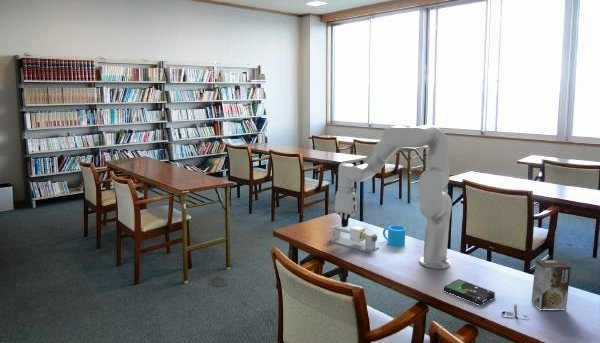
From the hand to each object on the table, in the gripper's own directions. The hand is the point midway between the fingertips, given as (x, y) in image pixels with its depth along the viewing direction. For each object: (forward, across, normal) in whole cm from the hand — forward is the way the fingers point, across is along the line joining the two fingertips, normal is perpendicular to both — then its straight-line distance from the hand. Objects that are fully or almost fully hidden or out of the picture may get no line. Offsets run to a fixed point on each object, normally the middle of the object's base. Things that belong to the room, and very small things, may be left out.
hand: (344, 226), depth 219 cm
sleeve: (+5, -7, 0) cm, 9 cm away
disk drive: (+9, -66, +15) cm, 69 cm away
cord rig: (+8, -5, 0) cm, 10 cm away
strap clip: (+8, -84, +21) cm, 87 cm away
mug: (+8, -18, -15) cm, 25 cm away
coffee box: (+8, -91, +6) cm, 91 cm away
